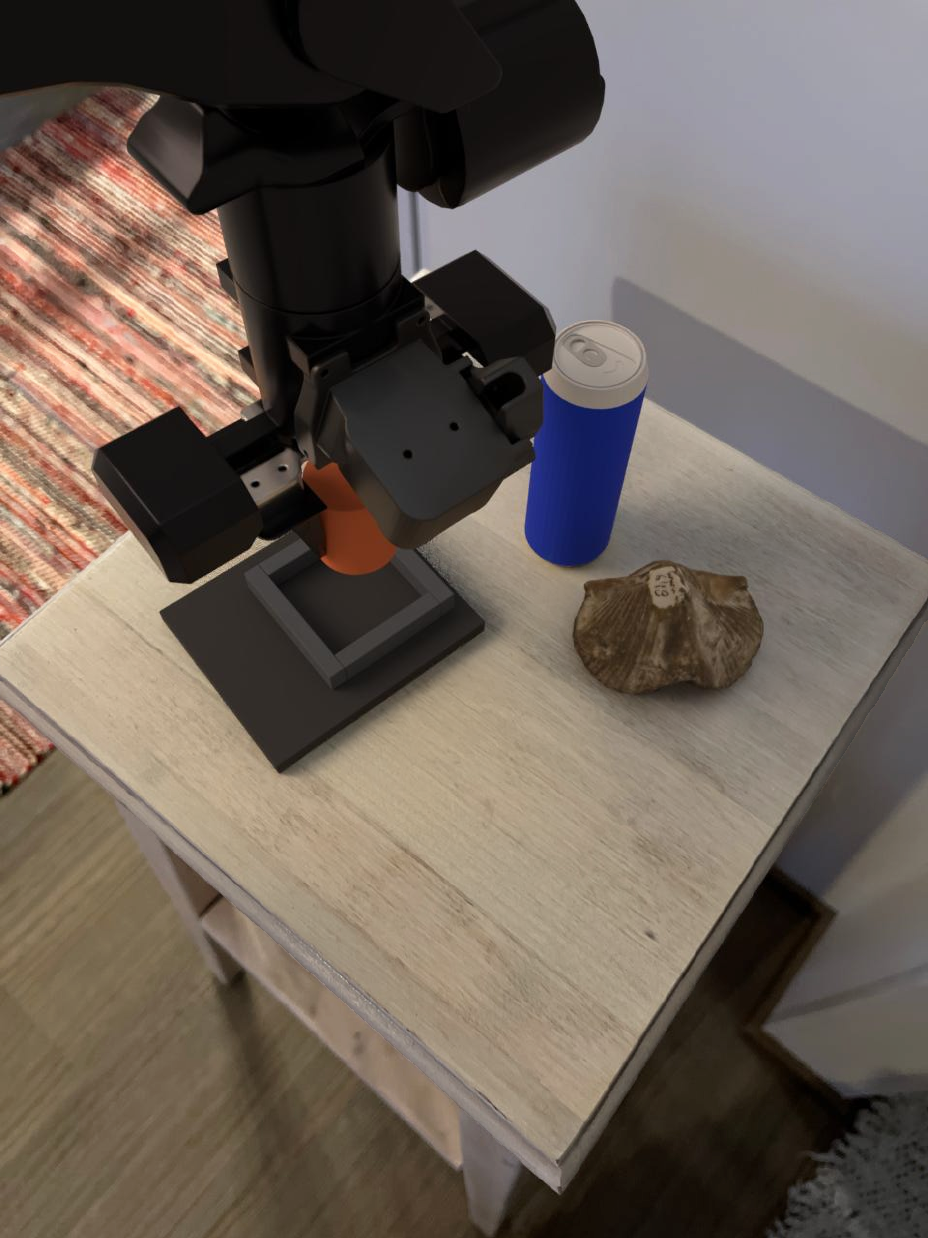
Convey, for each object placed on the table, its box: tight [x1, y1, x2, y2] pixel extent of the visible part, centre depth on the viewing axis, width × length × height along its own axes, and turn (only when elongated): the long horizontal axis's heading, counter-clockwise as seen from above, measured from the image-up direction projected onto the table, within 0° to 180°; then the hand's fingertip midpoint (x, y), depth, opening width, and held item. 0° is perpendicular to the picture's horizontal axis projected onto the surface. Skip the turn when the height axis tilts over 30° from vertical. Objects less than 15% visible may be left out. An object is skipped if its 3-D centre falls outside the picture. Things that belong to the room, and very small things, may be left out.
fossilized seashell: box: [571, 559, 765, 696], centre depth 54 cm, size 8×7×10 cm
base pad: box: [158, 531, 486, 774], centre depth 56 cm, size 14×12×2 cm
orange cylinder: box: [302, 460, 398, 575], centre depth 45 cm, size 4×4×5 cm
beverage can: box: [523, 319, 650, 567], centre depth 53 cm, size 5×5×15 cm
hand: (354, 527), depth 47 cm, fingers closed on orange cylinder, 4 cm apart
